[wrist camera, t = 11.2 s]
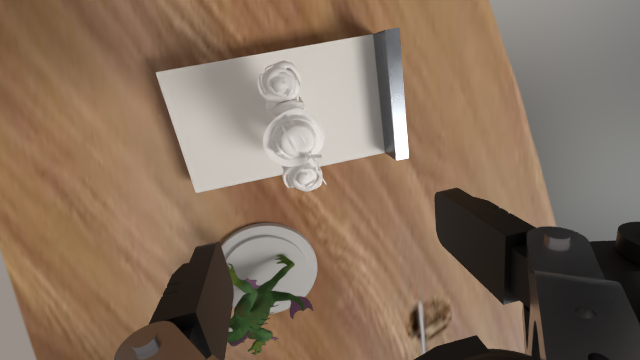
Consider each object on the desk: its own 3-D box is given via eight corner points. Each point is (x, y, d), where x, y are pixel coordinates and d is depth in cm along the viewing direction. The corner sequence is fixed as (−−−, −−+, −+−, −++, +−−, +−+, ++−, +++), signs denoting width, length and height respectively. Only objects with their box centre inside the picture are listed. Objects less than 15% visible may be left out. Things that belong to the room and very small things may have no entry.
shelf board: (385, 143, 35) (396, 150, 32) (201, 182, 33) (195, 192, 30) (375, 35, 31) (386, 31, 28) (165, 72, 29) (155, 72, 26)
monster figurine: (197, 240, 35) (172, 304, 26) (301, 209, 36) (315, 260, 26) (233, 321, 39) (223, 402, 30) (326, 292, 40) (345, 362, 31)
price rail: (396, 150, 32) (408, 157, 29) (384, 152, 32) (396, 160, 29) (386, 31, 28) (399, 27, 25) (372, 33, 28) (384, 29, 25)
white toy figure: (315, 156, 31) (344, 205, 20) (275, 166, 31) (283, 222, 19) (292, 59, 28) (312, 52, 16) (248, 69, 27) (238, 70, 16)
